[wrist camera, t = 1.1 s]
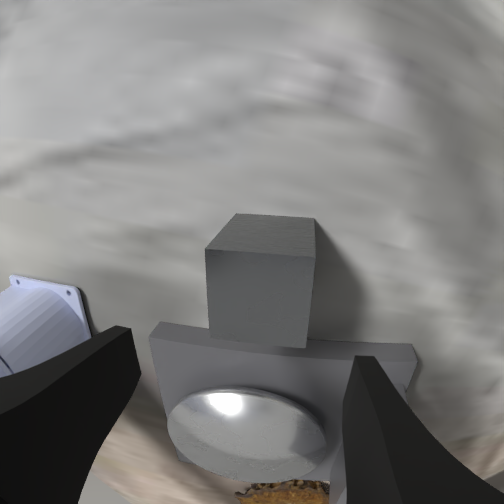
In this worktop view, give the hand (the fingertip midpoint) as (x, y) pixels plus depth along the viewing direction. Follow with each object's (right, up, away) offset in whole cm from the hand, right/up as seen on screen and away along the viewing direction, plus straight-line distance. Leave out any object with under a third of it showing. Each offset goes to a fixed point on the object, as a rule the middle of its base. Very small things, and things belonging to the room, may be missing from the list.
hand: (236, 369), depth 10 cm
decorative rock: (+6, -26, +21) cm, 34 cm away
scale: (+3, -10, +14) cm, 17 cm away
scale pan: (0, -11, +12) cm, 16 cm away
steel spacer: (+2, +4, +10) cm, 10 cm away
